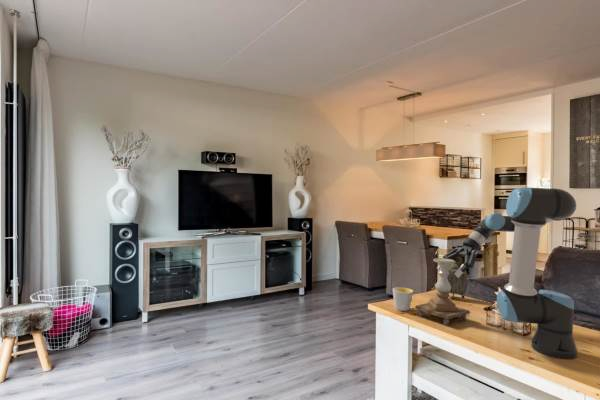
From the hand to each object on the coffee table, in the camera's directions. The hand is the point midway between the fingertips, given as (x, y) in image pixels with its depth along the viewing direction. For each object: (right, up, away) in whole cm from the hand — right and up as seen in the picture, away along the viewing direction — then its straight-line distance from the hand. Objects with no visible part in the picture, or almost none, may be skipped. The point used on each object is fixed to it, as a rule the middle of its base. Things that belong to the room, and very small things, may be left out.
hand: (447, 272), depth 186 cm
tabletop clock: (+18, -23, +37) cm, 47 cm away
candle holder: (-3, -17, -1) cm, 18 cm away
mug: (-18, -22, +12) cm, 31 cm away
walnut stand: (-3, -22, -1) cm, 22 cm away
